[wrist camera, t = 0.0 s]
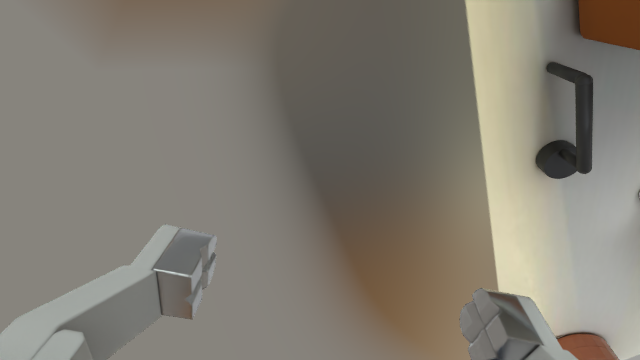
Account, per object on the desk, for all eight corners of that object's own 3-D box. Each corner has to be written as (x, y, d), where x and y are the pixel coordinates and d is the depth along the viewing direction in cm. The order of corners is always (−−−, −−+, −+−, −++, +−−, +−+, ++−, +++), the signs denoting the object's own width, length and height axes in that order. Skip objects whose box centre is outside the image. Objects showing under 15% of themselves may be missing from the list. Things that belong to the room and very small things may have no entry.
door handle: (574, 164, 44) (610, 192, 38) (537, 174, 45) (566, 203, 39) (572, 53, 36) (616, 66, 30) (527, 69, 38) (561, 85, 32)
